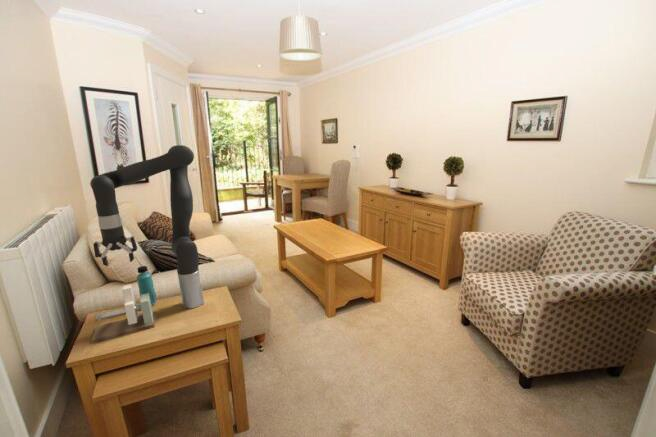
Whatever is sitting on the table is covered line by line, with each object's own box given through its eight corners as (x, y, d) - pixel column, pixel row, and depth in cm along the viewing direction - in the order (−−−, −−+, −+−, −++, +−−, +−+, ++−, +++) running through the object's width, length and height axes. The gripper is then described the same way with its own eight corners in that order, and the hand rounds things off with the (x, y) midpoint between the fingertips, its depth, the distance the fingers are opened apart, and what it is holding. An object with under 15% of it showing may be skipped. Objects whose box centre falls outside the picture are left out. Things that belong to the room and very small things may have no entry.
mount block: (153, 313, 141) (149, 292, 138) (152, 322, 134) (148, 300, 131) (145, 315, 139) (141, 294, 137) (144, 324, 133) (140, 302, 130)
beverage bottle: (150, 309, 148) (142, 270, 143) (138, 308, 149) (130, 269, 144) (160, 302, 154) (153, 264, 149) (149, 301, 155) (141, 264, 150)
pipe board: (155, 314, 143) (154, 311, 142) (154, 327, 133) (154, 323, 133) (97, 329, 133) (96, 326, 133) (92, 343, 124) (91, 340, 123)
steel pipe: (147, 307, 137) (146, 301, 136) (146, 310, 134) (145, 304, 133) (97, 319, 129) (96, 312, 128) (96, 322, 126) (94, 316, 126)
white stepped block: (138, 312, 138) (131, 281, 135) (137, 322, 131) (130, 290, 127) (130, 314, 137) (123, 283, 133) (128, 324, 129) (121, 292, 125)
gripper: (132, 221, 130) (139, 257, 134) (91, 226, 124) (100, 264, 128) (131, 224, 124) (138, 262, 128) (87, 230, 118) (96, 270, 122)
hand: (119, 263), depth 128 cm, fingers open, 8 cm apart
